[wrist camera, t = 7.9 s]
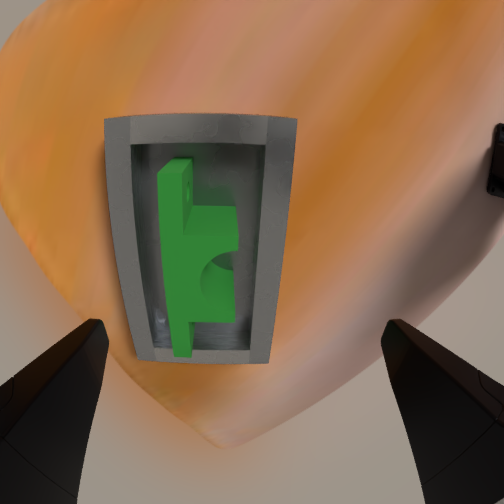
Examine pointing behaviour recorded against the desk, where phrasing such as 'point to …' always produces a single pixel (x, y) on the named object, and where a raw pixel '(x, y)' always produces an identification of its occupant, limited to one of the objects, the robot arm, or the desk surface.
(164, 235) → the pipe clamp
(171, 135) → the gray rectangular tray
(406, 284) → the desk surface
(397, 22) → the desk surface
